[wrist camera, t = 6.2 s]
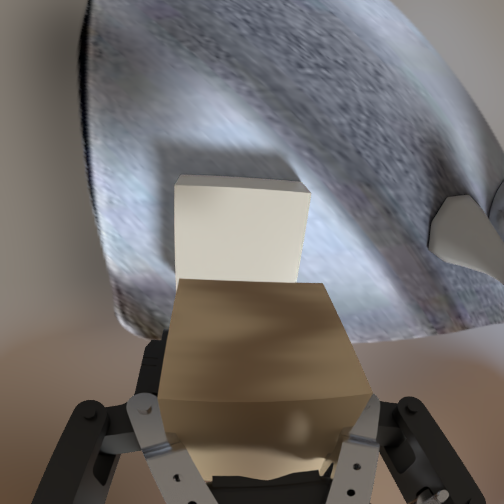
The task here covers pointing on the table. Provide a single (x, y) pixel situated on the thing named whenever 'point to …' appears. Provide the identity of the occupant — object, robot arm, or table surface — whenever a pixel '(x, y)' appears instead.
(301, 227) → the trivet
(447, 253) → the flask
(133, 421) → the robot arm
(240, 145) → the table surface
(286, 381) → the oak block
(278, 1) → the table surface
